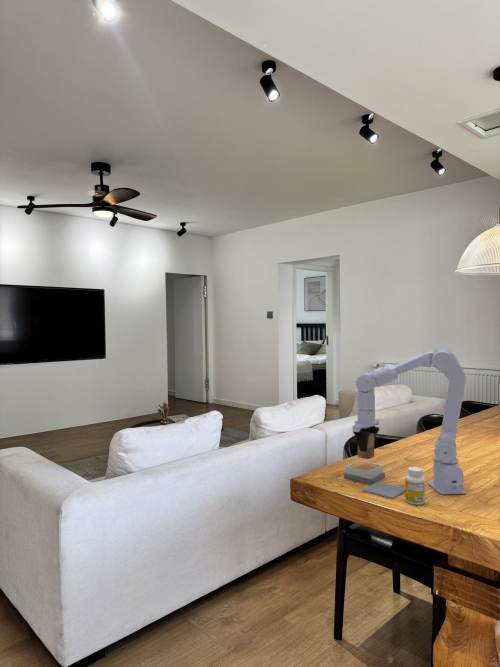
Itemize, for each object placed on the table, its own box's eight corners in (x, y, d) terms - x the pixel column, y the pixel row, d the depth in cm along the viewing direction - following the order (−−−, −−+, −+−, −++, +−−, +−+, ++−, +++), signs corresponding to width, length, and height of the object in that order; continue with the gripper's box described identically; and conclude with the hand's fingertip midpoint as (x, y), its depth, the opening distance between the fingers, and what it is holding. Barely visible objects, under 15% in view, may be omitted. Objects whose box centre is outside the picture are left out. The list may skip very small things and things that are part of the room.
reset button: (378, 471, 159) (378, 465, 159) (368, 476, 154) (368, 470, 154) (360, 467, 163) (360, 461, 163) (349, 471, 158) (349, 465, 158)
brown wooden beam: (374, 456, 157) (374, 433, 157) (368, 459, 154) (368, 435, 154) (363, 454, 160) (363, 431, 160) (357, 457, 157) (357, 433, 157)
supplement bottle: (409, 496, 141) (409, 464, 141) (427, 501, 137) (427, 468, 137) (402, 502, 137) (402, 469, 136) (421, 506, 133) (421, 472, 133)
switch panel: (384, 476, 159) (384, 465, 159) (370, 484, 151) (370, 472, 151) (358, 470, 166) (358, 459, 166) (343, 477, 158) (343, 466, 158)
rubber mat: (407, 490, 146) (407, 488, 146) (393, 499, 139) (393, 497, 139) (377, 482, 153) (377, 481, 153) (362, 491, 146) (362, 489, 146)
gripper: (366, 405, 165) (366, 443, 165) (344, 411, 154) (344, 451, 155) (384, 407, 160) (384, 446, 160) (363, 413, 149) (363, 455, 150)
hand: (366, 449), depth 157 cm, fingers closed on brown wooden beam, 4 cm apart
